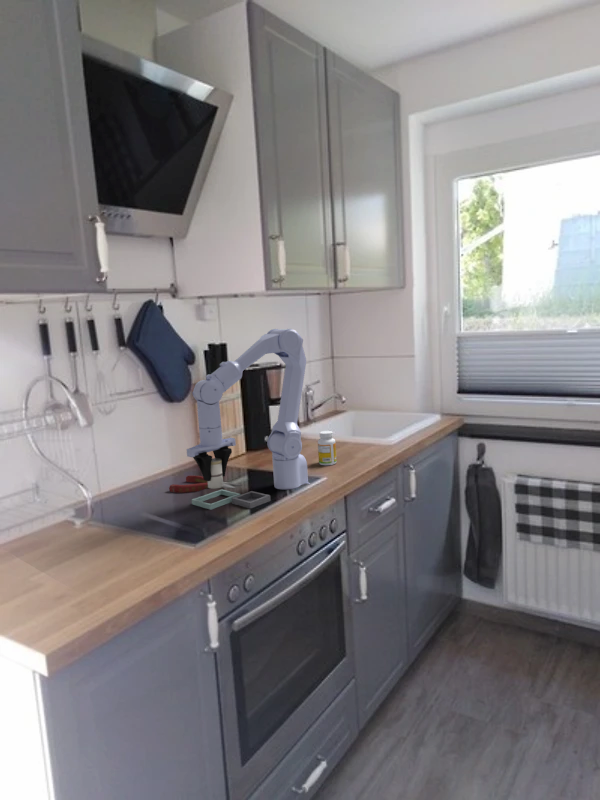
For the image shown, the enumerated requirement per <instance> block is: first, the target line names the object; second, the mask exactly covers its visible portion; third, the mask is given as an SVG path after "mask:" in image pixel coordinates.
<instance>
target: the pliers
mask: <svg viewBox="0 0 600 800" xmlns="http://www.w3.org/2000/svg"><path fill="white" fill-rule="evenodd" d="M185 481H186V483H188V484H170V485H169V487H168V488H169V489H168V490H169V492H170V493H176V494H177V493H178V494H180V493H181V494H182V493H183V494H185V493H186V494H187V493H195V492H201V491H204V490H207V489H211V488H208V482H207V481H206V480H204V478H203V475H202V476H201V475H187V476H186V477H185ZM189 483H191V484H189ZM235 486H241V484H240V483H234V482H233V483H232V482H226V481H223V487H221V489H222V488H224V489H237V487H235ZM211 490H212V489H211Z"/></svg>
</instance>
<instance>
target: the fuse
mask: <svg viewBox="0 0 600 800" xmlns="http://www.w3.org/2000/svg"><path fill="white" fill-rule="evenodd" d="M207 482H208V488H207V489H210V488H211V490H213V489H220V488H221V489H222V487H223V482H224V478H223V472H222V459H220V458H215V457H212V461H211V481H207Z"/></svg>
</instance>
